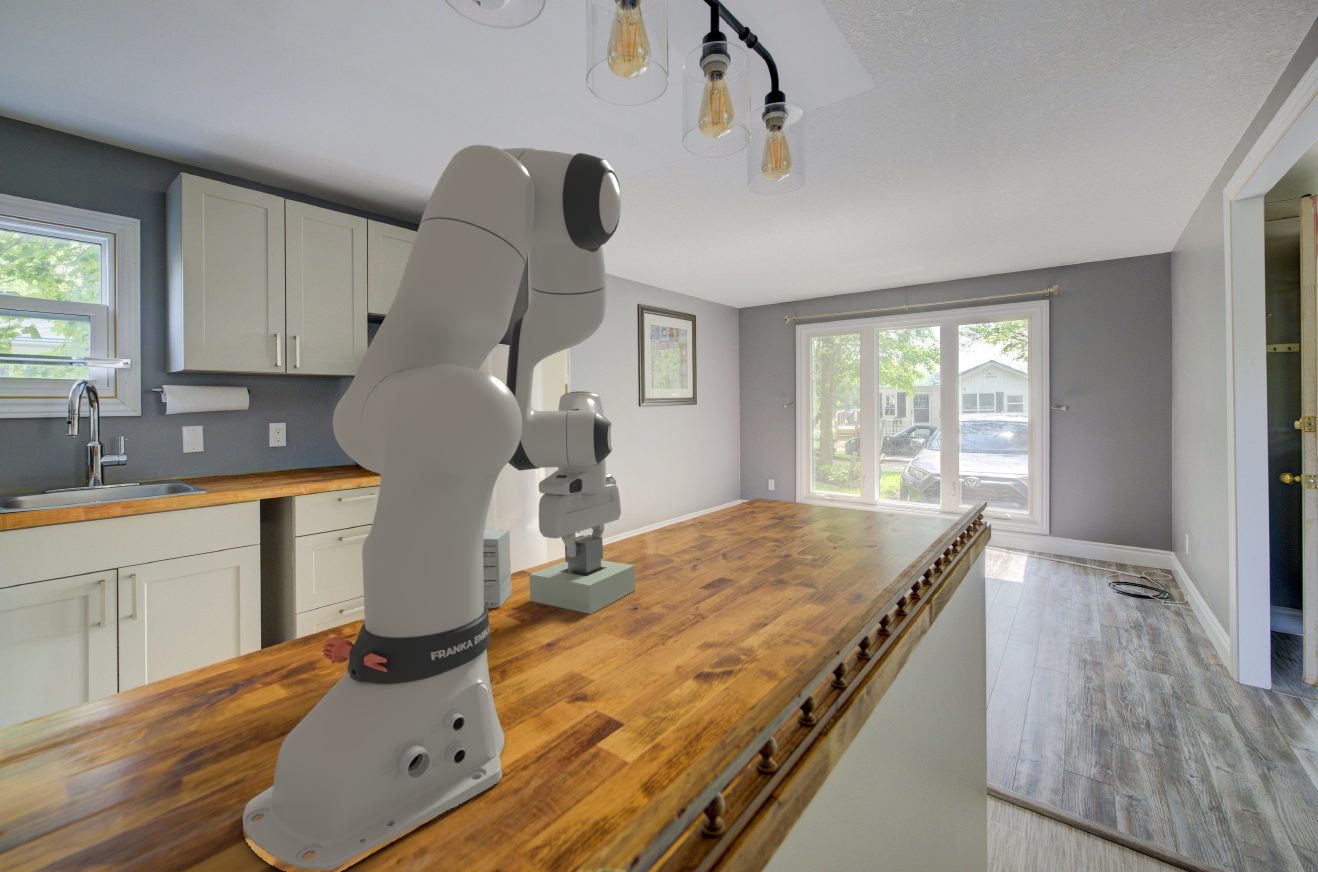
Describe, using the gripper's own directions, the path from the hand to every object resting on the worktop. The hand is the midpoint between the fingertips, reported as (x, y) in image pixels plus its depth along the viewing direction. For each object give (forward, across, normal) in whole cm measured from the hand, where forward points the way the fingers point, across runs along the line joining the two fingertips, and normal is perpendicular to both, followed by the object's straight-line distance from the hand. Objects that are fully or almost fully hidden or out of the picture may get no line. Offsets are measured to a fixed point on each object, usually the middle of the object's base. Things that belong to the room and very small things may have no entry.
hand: (584, 552), depth 104 cm
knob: (+5, 0, 0) cm, 5 cm away
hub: (+8, 0, 0) cm, 8 cm away
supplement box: (+8, +11, -14) cm, 20 cm away
